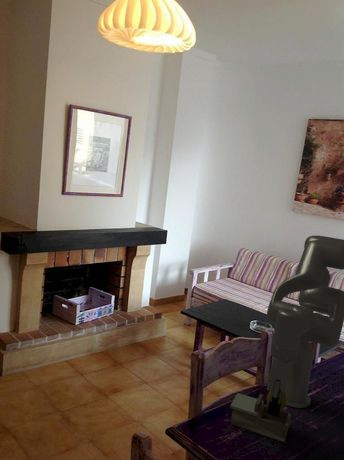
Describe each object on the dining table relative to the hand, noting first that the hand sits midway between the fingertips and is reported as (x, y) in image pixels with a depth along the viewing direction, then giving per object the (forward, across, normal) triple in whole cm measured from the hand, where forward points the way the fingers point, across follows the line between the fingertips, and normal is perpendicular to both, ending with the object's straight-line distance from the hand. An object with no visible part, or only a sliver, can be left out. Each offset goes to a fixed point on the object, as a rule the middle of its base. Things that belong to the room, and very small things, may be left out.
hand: (275, 409), depth 123 cm
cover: (+2, 0, -8) cm, 9 cm away
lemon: (+1, 0, 0) cm, 1 cm away
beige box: (+6, 0, -4) cm, 7 cm away
